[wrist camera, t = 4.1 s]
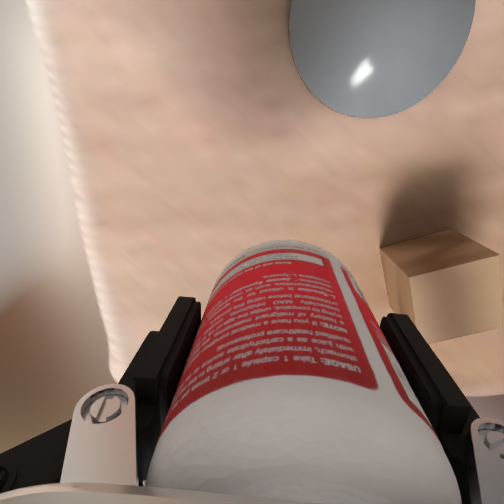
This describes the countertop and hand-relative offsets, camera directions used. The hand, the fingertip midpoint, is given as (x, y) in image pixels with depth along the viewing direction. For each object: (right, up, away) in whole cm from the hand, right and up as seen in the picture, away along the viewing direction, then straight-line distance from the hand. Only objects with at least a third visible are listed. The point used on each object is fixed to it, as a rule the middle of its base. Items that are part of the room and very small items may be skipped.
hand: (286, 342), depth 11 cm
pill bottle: (0, +1, +3) cm, 3 cm away
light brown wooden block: (+11, +2, +12) cm, 17 cm away
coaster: (+6, +16, +7) cm, 19 cm away
